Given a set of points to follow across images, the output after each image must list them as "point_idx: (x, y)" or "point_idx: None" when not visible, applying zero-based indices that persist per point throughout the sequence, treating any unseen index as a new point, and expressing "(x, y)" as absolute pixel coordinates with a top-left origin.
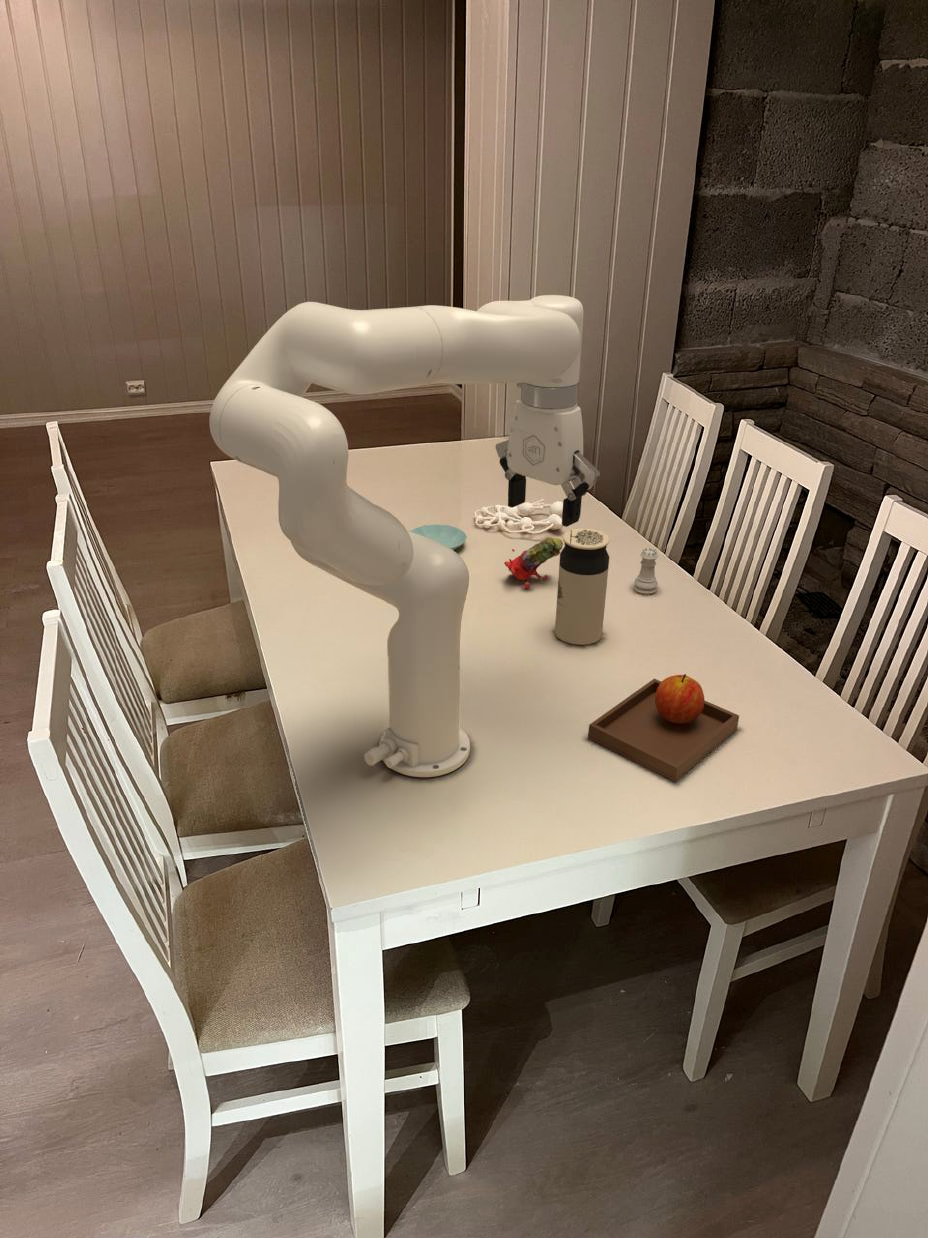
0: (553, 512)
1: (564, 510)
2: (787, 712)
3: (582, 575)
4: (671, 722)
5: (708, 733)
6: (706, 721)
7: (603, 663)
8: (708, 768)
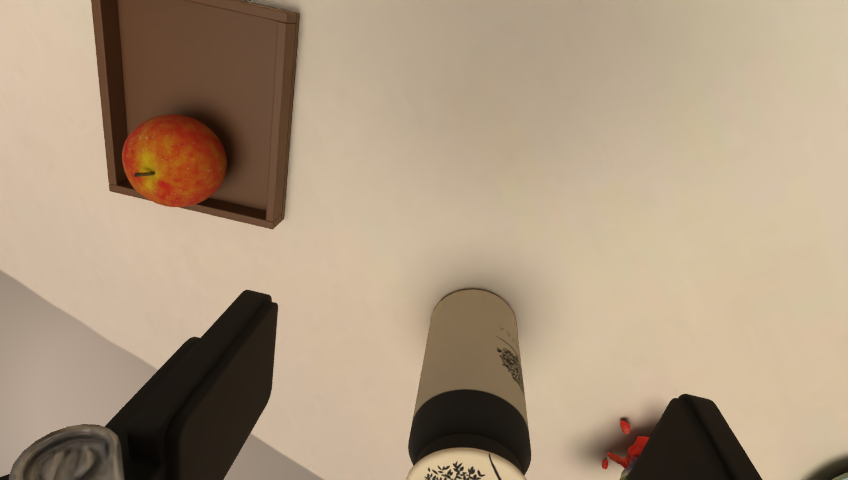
0: None
1: (202, 354)
2: (103, 262)
3: (449, 390)
4: None
5: None
6: None
7: (393, 260)
8: None
